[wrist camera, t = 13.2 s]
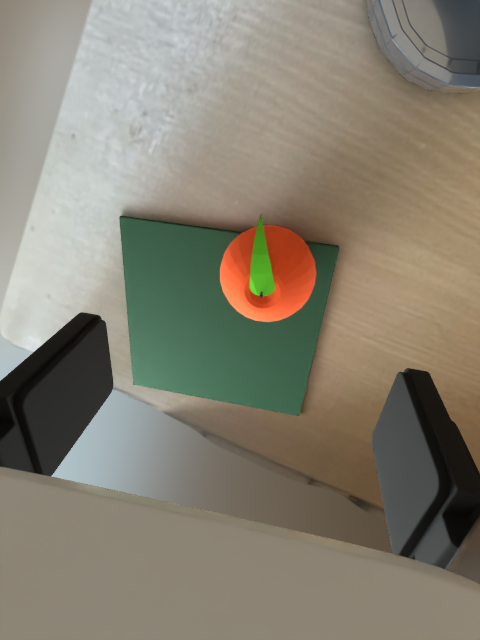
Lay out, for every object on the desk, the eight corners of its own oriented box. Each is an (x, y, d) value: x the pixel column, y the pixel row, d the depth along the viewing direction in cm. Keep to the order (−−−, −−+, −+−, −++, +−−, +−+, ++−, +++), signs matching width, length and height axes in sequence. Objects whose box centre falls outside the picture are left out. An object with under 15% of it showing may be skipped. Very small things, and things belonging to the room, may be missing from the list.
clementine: (223, 204, 27) (197, 227, 21) (315, 196, 26) (316, 219, 20) (235, 298, 31) (216, 341, 25) (316, 296, 29) (317, 341, 23)
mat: (134, 382, 38) (133, 384, 38) (121, 215, 29) (119, 216, 29) (299, 413, 37) (299, 416, 36) (339, 245, 28) (339, 247, 27)
